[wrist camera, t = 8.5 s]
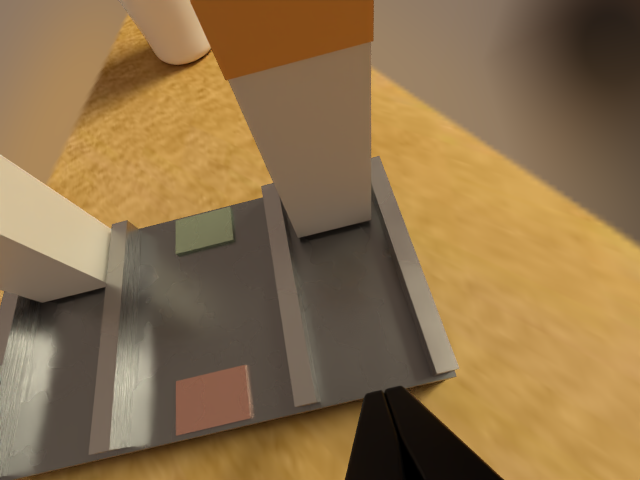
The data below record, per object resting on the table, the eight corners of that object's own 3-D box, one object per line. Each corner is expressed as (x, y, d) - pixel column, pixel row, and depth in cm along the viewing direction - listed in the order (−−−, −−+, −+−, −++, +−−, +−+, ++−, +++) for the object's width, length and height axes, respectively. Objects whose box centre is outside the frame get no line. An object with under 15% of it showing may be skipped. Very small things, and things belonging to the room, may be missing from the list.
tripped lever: (372, 220, 16) (373, -132, 5) (297, 239, 16) (157, -71, 6) (356, 170, 17) (332, -185, 7) (287, 187, 17) (160, -136, 7)
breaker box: (446, 379, 14) (464, 373, 12) (30, 476, 15) (-49, 493, 12) (378, 189, 19) (379, 152, 16) (65, 268, 20) (13, 246, 17)
